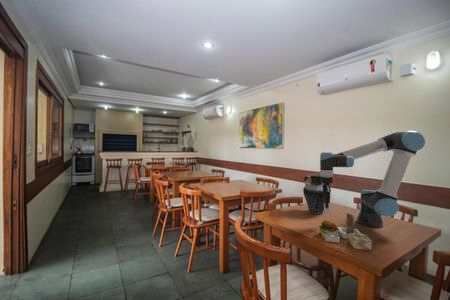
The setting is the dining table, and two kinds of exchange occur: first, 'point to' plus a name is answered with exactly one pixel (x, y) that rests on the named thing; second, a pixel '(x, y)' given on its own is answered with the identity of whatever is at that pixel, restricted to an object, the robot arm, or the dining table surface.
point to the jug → (314, 194)
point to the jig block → (360, 241)
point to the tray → (343, 232)
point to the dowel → (350, 223)
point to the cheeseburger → (328, 228)
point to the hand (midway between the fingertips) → (326, 212)
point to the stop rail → (332, 237)
